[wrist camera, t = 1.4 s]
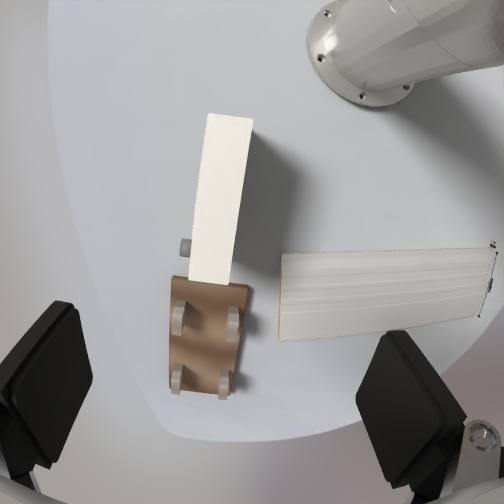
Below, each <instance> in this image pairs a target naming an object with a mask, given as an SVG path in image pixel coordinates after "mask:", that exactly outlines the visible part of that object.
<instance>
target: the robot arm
mask: <svg viewBox="0 0 504 504" xmlns="http://www.w3.org/2000/svg"><path fill="white" fill-rule="evenodd" d="M325 15H326V16H327V17H326V16H325ZM307 49H308V53H309V56H310V60H311V62H312V64H313V66H314V68H315V70H316V71H317V73H318V74H319V76H320V77H321V78H322V80H323V81H324V82H325V83H326V84H327V85H328V86H329V87H330V88H331V89H332V90H333V91H335V92H336V93H337V94H339V95H340V96H342V97H344V98H345V99H347V100H349V101H351V102H354V103H357V104H360V105H364V106H370V107H382V106H387V105H391V104H394V103H397V102H399V101H401V100H402V99H404V98H405V97H406V96H407V95H408V94H409V93H410V92H411V91H412V89H413V88H414V86H415V84H416V82H420V81H424V80H429V79H433V78H437V77H442V76H447V75H451V74H456V73H462V72H467V71H472V70H478V69H485V68H491V67H498V66H502V65H504V0H337V1H334V2H331V3H329V4H327V5H326V6H324V7H323V8H322V9H321V10H320V11H319V12H318V13H317V14H316V15H315V16H314V18H313V19H312V21H311V23H310V26H309V28H308V34H307ZM317 58H319V59H321V62H319V61H318V60H317ZM359 95H361V96H362V99H360V97H359ZM92 380H93V374H92V370H91V366H90V362H89V358H88V354H87V349H86V345H85V340H84V336H83V331H82V326H81V320H80V315H79V311H78V310H77V309H75V308H74V305H73V304H72V303H68V302H62V301H54V302H53V303H52V304H51V305H50V306H49V307H48V309H47V310H46V311H45V312H44V313H43V314H42V315H41V316H40V317H39V319H38V320H37V321H36V322H35V323H34V324H33V325H32V326H31V328H30V329H29V330H28V331H27V332H26V334H24V336H23V337H22V338H21V339H20V341H19V342H18V343H17V344H16V345H15V346H14V348H13V349H12V350H11V351H10V353H9V354H8V355H7V356H6V358H5V359H4V360H3V361H2V363H1V364H0V504H66V503H64V502H61V501H58V500H56V499H53V498H51V497H48V496H46V495H43V494H42V493H41V490H40V488H39V485H38V483H37V480H36V478H35V475H34V473H33V468H34V466H35V464H38V465H40V466H42V467H44V468H47V469H50V468H51V465H52V463H56V462H57V461H58V459H59V457H60V454H61V452H62V450H63V447H64V445H65V442H66V440H67V438H68V435H69V432H70V430H71V428H72V426H73V424H74V421H75V419H76V417H77V415H78V412H79V410H80V408H81V405H82V403H83V401H84V399H85V397H86V395H87V393H88V391H89V388H90V386H91V384H92ZM356 405H357V407H358V410H359V412H360V415H361V417H362V420H363V422H364V425H365V427H366V430H367V432H368V435H369V438H370V440H371V443H372V445H373V448H374V451H375V453H376V456H377V458H378V461H379V464H380V466H381V469H382V472H383V475H384V477H385V479H386V481H387V482H390V483H391V486H392V488H393V489H395V488H399V487H402V486H406V485H407V484H409V486H410V488H411V490H410V492H409V495H408V497H407V499H406V502H405V504H504V447H502V446H501V438H500V435H499V433H498V431H497V430H496V428H495V427H494V426H493V425H491V424H490V423H488V422H486V421H484V420H473V421H471V422H469V423H468V424H467V425H466V426H464V424H463V422H464V420H465V419H466V418H467V416H466V414H465V413H464V411H463V410H462V408H461V407H460V405H459V404H458V402H457V401H456V399H455V398H454V396H453V395H452V393H451V392H450V390H449V389H448V388H447V386H446V385H445V383H444V382H443V380H442V379H441V378H440V376H439V375H438V373H437V372H436V371H435V369H434V368H433V367H432V365H431V364H430V362H429V361H428V360H427V358H426V357H425V356H424V354H423V353H422V352H421V350H420V349H419V348H418V346H417V345H416V344H415V342H414V341H413V340H412V338H411V337H410V336H409V334H408V333H407V332H406V331H404V330H390V331H387V332H386V334H385V335H383V336H382V337H381V339H380V341H379V343H378V346H377V348H376V351H375V353H374V356H373V358H372V360H371V363H370V365H369V367H368V370H367V372H366V374H365V376H364V378H363V381H362V383H361V385H360V387H359V389H358V391H357V394H356Z"/></svg>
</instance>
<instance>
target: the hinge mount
mask: <svg viewBox="0 0 504 504" xmlns="http://www.w3.org/2000/svg"><path fill="white" fill-rule="evenodd" d="M247 292H248V285H244V284H235V283H228V285H222V284H214V283H206V282H198V281H191V280H188V278H187V277H180V276H173V277H172V279H171V300H170V332H169V388H171V394H178V395H180V390H185V391H193V392H201V393H210V394H218V399H221V400H226V399H227V395H230V392H231V386H232V380H233V375H234V369H235V363H236V357H237V351H238V345H239V339H240V334H241V328H242V322H243V316H244V310H245V304H246V298H247Z"/></svg>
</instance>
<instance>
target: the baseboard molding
mask: <svg viewBox="0 0 504 504" xmlns="http://www.w3.org/2000/svg"><path fill="white" fill-rule="evenodd" d="M492 242H493V241H492ZM494 244H495V242H494ZM490 246H491V247H493V248H496V246H492V244H490ZM490 253H491V248H456V249H419V250H382V251H344V252H305V253H281V272H280V299H279V322H278V340H279V341H288V340H303V339H316V338H327V337H338V336H347V335H357V334H365V333H373V332H381V331H389V330H396V329H402V328H409V327H415V326H422V325H427V324H433V323H439V322H444V321H450V320H455V319H460V318H465V317H470V316H474V315H476V313H477V310H478V307H479V304H480V301H481V298H482V294H483V290H484V286H485V284H486V279H487V276H488V273H489V272H488V271H489V267H490V265H491V261H492V259H491V256H490ZM497 254H498V252H496V256H497ZM495 260H496V258H495ZM494 264H495V263H494ZM493 268H494V267H493ZM492 272H493V271H492ZM491 276H492V274H491ZM490 280H492V281H491V283H490V282H489V283H490V286H489V285H488V287H489V289H490V290H491V287H492V286H491V285H492V282H493V279H491V278H490ZM487 290H488V289H487ZM488 292H489V293H490V291H489V290H488ZM486 294H487V292H486ZM485 297H486V296H485ZM484 300H485V299H484ZM483 303H484V302H483ZM482 307H483V305H482ZM481 310H482V308H481ZM480 313H481V311H480ZM479 317H480V314H479V315H478V318H479Z"/></svg>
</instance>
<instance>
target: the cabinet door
mask: <svg viewBox="0 0 504 504" xmlns="http://www.w3.org/2000/svg"><path fill="white" fill-rule="evenodd" d="M252 125H253V119H248V118H241V117H234V116H227V115H219V114H210V113H208V119H207V125H206V131H205V138H204V145H203V152H202V159H201V166H200V174H199V181H198V189H197V197H196V206H195V215H194V224H193V234H192V240H190V239H182V240H181V245H180V256H182V257H190V266H189V278H188V280H191V281H198V282H206V283H214V284H222V285H228V283H229V276H230V269H231V262H232V255H233V248H234V241H235V234H236V228H237V221H238V214H239V207H240V201H241V194H242V188H243V181H244V175H245V168H246V162H247V156H248V150H249V143H250V137H251V131H252Z"/></svg>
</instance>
